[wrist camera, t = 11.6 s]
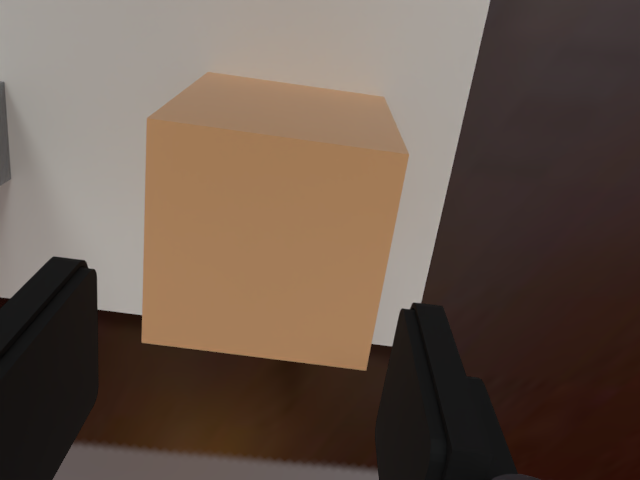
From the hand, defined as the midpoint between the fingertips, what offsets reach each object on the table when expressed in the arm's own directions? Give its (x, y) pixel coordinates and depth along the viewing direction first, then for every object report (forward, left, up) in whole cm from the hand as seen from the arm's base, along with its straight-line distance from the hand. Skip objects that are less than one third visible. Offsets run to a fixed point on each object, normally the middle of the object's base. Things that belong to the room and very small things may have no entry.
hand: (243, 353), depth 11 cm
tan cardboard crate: (0, 0, -12) cm, 12 cm away
